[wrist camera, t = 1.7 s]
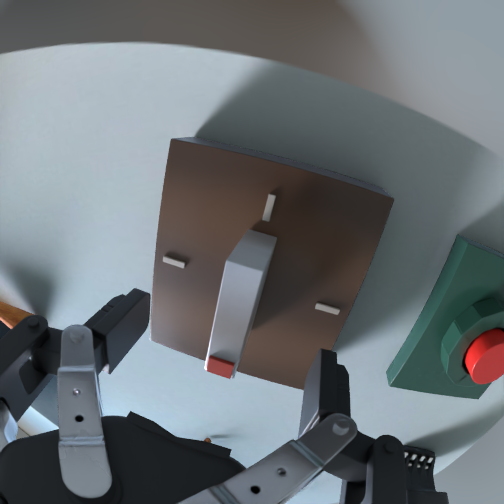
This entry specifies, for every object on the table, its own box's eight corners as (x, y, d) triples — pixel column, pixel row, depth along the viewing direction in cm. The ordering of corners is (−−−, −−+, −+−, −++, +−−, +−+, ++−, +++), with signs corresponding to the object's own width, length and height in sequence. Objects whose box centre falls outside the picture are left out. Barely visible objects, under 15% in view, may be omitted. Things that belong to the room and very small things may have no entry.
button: (481, 323, 15) (491, 339, 14) (513, 332, 15) (523, 347, 13) (455, 365, 17) (462, 382, 15) (487, 371, 16) (495, 386, 15)
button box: (457, 233, 17) (480, 254, 14) (542, 272, 16) (565, 293, 13) (385, 371, 22) (391, 403, 18) (473, 386, 21) (483, 413, 18)
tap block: (191, 136, 18) (169, 138, 15) (383, 188, 17) (395, 199, 14) (166, 318, 24) (148, 341, 21) (312, 364, 23) (309, 393, 20)
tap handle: (248, 228, 16) (224, 261, 12) (277, 237, 16) (263, 273, 12) (225, 325, 19) (202, 372, 15) (250, 332, 19) (232, 382, 15)
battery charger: (443, 447, 24) (456, 530, 14) (421, 464, 26) (428, 543, 15) (403, 438, 24) (410, 534, 14) (379, 455, 26) (380, 545, 16)
